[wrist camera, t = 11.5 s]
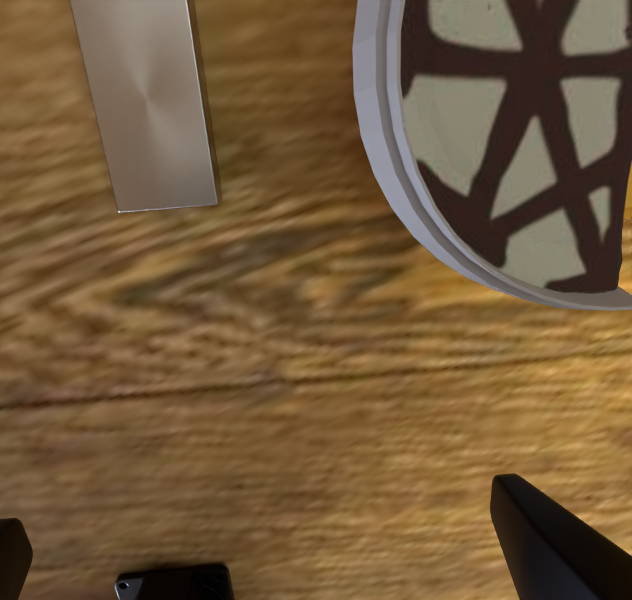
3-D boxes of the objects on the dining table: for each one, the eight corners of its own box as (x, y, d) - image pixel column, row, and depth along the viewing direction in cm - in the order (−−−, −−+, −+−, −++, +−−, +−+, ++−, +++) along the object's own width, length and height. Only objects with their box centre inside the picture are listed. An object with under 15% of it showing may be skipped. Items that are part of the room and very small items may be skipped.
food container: (307, -87, 16) (326, -381, 7) (483, -113, 16) (752, -447, 7) (346, 253, 20) (390, 364, 11) (483, 234, 20) (643, 329, 11)
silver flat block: (222, 200, 19) (218, 205, 18) (127, 208, 19) (117, 213, 18) (190, -25, 16) (182, -36, 15) (78, -17, 16) (62, -27, 15)
